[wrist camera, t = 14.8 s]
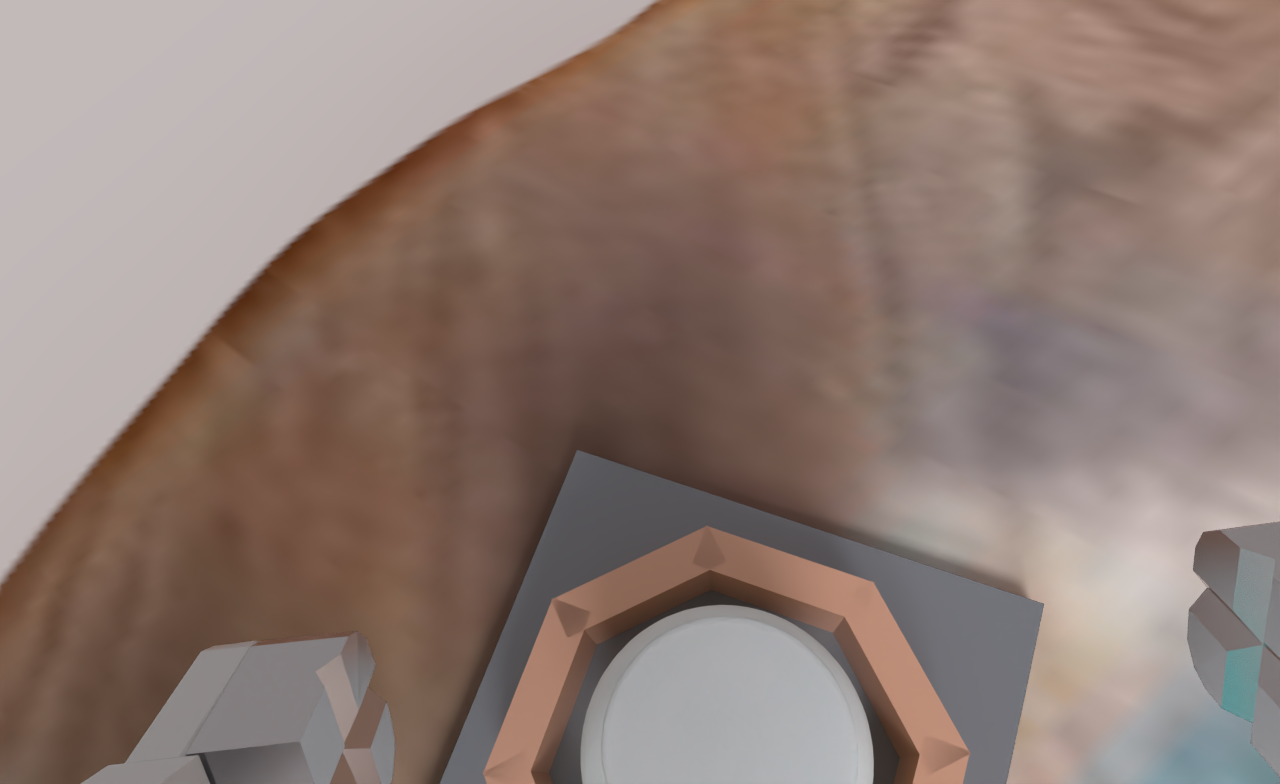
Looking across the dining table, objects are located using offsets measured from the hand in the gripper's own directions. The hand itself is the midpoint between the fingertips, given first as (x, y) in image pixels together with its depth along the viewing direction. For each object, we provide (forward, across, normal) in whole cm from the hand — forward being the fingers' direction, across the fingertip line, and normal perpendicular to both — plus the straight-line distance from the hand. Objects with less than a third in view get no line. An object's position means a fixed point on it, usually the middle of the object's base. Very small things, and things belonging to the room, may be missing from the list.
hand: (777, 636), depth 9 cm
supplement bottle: (+11, +1, +12) cm, 16 cm away
